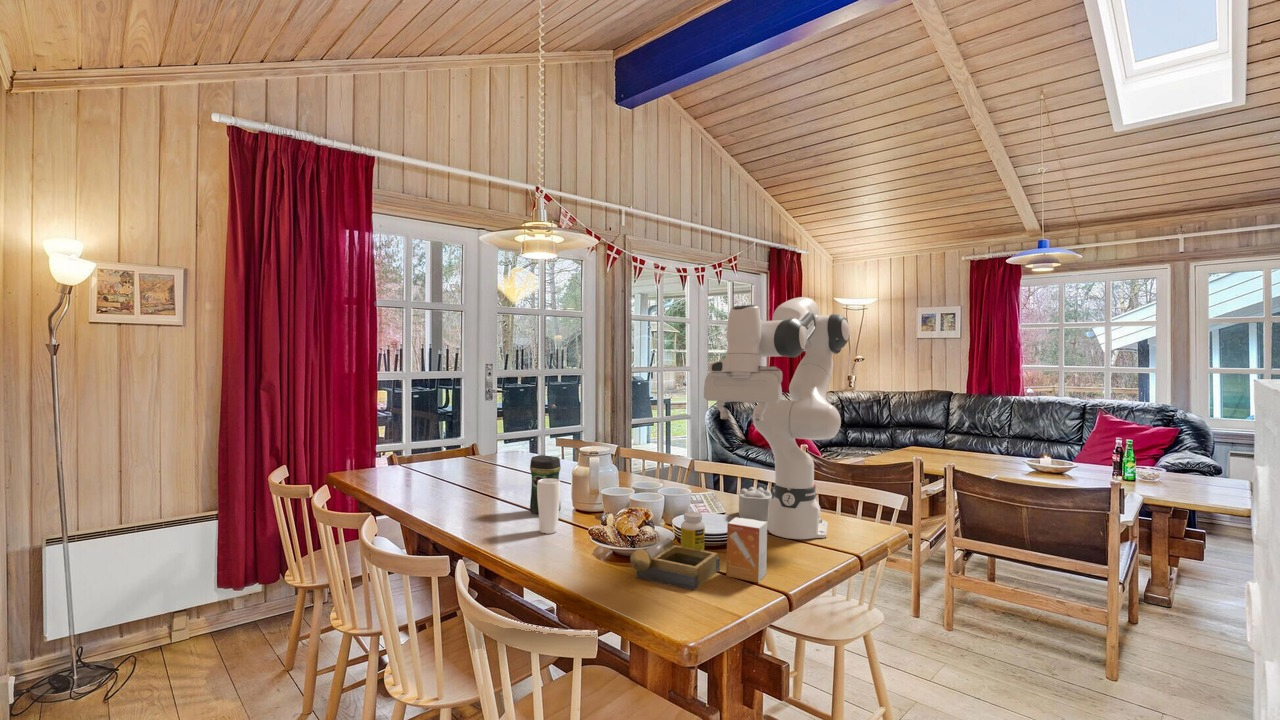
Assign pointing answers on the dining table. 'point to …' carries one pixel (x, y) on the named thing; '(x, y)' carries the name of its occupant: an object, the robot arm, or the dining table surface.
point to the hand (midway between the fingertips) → (741, 419)
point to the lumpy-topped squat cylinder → (754, 503)
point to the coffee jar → (542, 475)
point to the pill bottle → (692, 531)
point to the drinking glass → (548, 504)
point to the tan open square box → (675, 564)
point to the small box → (746, 549)
